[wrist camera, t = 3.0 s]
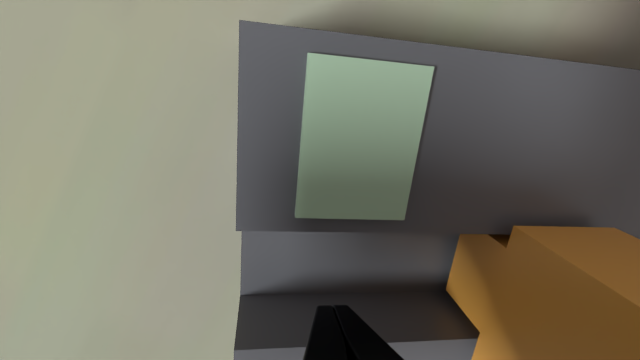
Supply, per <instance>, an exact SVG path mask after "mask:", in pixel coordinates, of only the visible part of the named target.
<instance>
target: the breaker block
mask: <svg viewBox="0 0 640 360" xmlns="http://www.w3.org/2000/svg"><path fill="white" fill-rule="evenodd" d="M513 226H557V227H609V228H616V229H618V230H621V231H623V232H625V233H627V234H629V235H631V236H634V237H636V238H638V239H640V70H636V69H628V68H620V67H612V66H604V65H596V64H588V63H580V62H572V61H564V60H556V59H548V58H540V57H532V56H524V55H516V54H508V53H500V52H492V51H484V50H476V49H468V48H460V47H452V46H444V45H436V44H427V43H419V42H411V41H403V40H395V39H387V38H379V37H371V36H363V35H355V34H347V33H339V32H331V31H323V30H315V29H307V28H299V27H291V26H283V25H275V24H267V23H259V22H251V21H243V20H239V75H238V136H237V197H236V231H242V246H241V290H240V303H239V312H238V320H237V329H236V338H235V346H234V360H303V357H304V353H305V349H306V345H307V341H308V337H309V333H310V329H311V326H312V322H313V318H314V314H315V310H316V307H317V305H331V306H333V305H335V304H346V305H348V306H349V307H350V308H351V309H352V310H354V311H355V312H356V313H357V314H358V315H359V316H360V317H361V318H362V319H363V320H364V321H365V322H366V323H367V324H368V325H369V326H370V327H371V328H372V329H373V330H374V331H375V332H376V333H377V334H378V335H379V336H380V337H381V338H382V339H383V340H384V341H385V342H386V343H388V344H389V345H390V346H391V347H392V348H393V349H394V350H395V351H396V352H397V353H398V354H399V355H400V356H401V357H402V358H403V359H404V360H471V359H472V356H473V353H474V350H475V347H476V343H477V340H478V337H479V334H480V332H479V331H478V329H477V328H476V327H475V326H474V324H473V323H472V322H471V321H470V319H469V318H468V317H467V316H466V314H465V313H464V312H463V311H462V309H461V308H460V307H459V306H458V304H457V303H456V302H455V301H454V299H453V298H452V297H451V296H450V294H449V293H448V292H447V291H446V286H447V282H448V278H449V274H450V271H451V267H452V263H453V259H454V255H455V251H456V247H457V244H458V240H459V236H460V234H501V235H511V232H512V229H513Z"/></svg>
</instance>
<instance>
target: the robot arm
mask: <svg viewBox="0 0 640 360" xmlns="http://www.w3.org/2000/svg"><path fill="white" fill-rule="evenodd" d="M303 360H404V359H403V358H402V357H401V356H400V355H399V354H398V353H397V352H396V351H395V350H394V349H393V348H392V347H391V346H390V345H389V344H388V343H386V342H385V341H384V340H383V339H382V338H381V337H380V336H379V335H378V334H377V333H376V332H375V331H374V330H373V329H372V328H371V327H370V326H369V325H368V324H367V323H366V322H365V321H364V320H363V319H362V318H361V317H360V316H359V315H358V314H357V313H356V312H355V311H354V310H352V309H351V308H350V307H349V306H348V305H346V304H335V305H333V306H331V305H317V307H316V310H315V314H314V318H313V322H312V326H311V329H310V333H309V337H308V341H307V345H306V349H305V353H304V357H303Z"/></svg>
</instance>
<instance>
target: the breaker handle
mask: <svg viewBox="0 0 640 360" xmlns="http://www.w3.org/2000/svg"><path fill="white" fill-rule="evenodd" d="M446 291H447V292H448V293H449V294H450V296H451V297H452V298H453V299H454V301H455V302H456V303H457V304H458V306H459V307H460V308H461V309H462V311H463V312H464V313H465V314H466V316H467V317H468V318H469V319H470V321H471V322H472V323H473V324H474V326H475V327H476V328H477V329H478V331H479V332H480V334H479V337H478V340H477V343H476V347H475V350H474V353H473V356H472V359H471V360H640V239H638V238H636V237H634V236H631V235H629V234H627V233H625V232H623V231H621V230H618V229H616V228H609V227H557V226H513V229H512V232H511V235H501V234H460V236H459V240H458V244H457V247H456V251H455V255H454V259H453V263H452V267H451V271H450V274H449V278H448V282H447V286H446Z"/></svg>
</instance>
